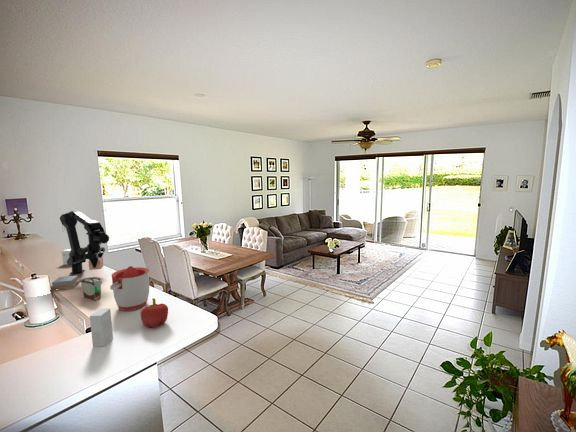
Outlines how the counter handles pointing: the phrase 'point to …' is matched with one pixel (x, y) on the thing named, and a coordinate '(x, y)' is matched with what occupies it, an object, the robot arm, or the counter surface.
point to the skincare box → (101, 327)
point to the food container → (91, 288)
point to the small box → (65, 256)
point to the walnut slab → (66, 286)
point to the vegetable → (154, 314)
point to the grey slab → (64, 281)
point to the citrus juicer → (130, 287)
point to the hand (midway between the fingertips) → (96, 266)
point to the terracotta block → (99, 264)
